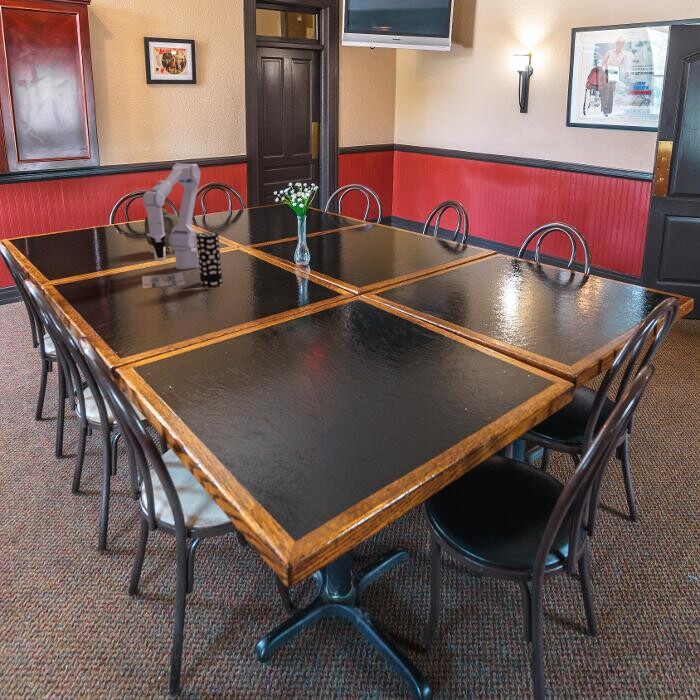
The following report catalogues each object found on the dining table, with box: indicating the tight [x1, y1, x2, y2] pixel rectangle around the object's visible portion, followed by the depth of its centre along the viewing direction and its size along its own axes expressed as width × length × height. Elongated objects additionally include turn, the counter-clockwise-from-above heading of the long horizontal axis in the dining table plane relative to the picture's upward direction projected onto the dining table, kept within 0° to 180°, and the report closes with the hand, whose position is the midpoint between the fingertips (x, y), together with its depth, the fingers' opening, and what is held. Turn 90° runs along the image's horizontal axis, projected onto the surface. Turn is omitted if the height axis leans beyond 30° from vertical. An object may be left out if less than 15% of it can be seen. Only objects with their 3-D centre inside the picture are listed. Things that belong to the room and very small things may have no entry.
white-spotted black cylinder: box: [195, 231, 223, 289], centre depth 256 cm, size 8×8×20 cm
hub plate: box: [141, 272, 186, 289], centre depth 263 cm, size 16×18×2 cm
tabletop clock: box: [144, 199, 179, 254], centre depth 308 cm, size 14×9×25 cm, turn 80°
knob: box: [149, 247, 167, 262], centre depth 265 cm, size 6×4×5 cm
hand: (160, 256), depth 265 cm, fingers closed on knob, 4 cm apart
